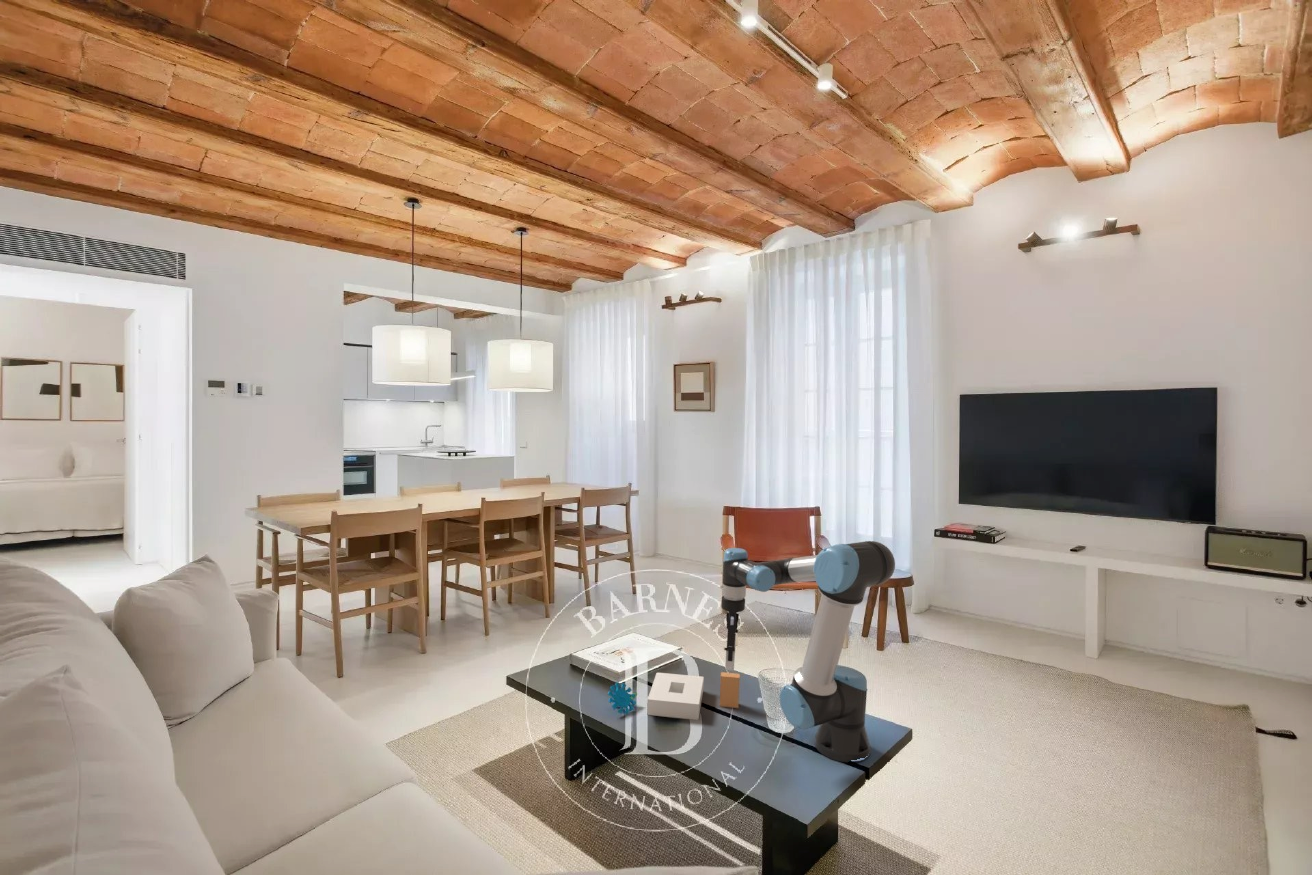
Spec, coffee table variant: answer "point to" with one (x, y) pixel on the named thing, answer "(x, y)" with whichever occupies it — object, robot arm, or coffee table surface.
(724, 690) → the peg
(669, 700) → the block
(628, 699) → the blue virus model
